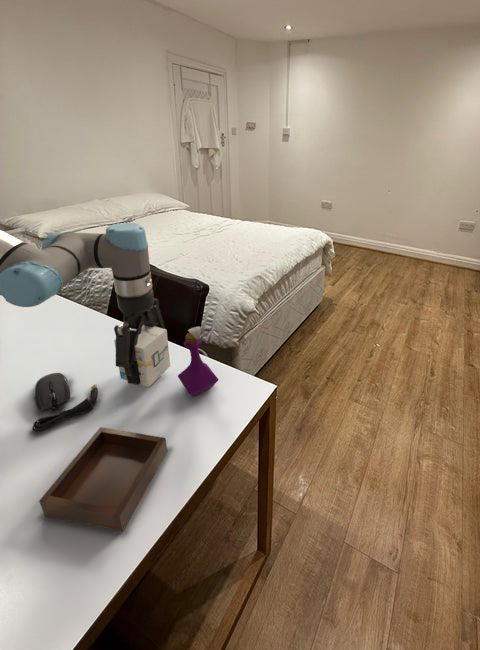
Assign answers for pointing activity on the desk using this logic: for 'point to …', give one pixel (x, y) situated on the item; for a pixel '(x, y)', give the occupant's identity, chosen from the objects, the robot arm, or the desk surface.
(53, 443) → the desk surface
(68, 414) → the computer mouse
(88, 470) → the wooden tray
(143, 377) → the ink box
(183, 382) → the perfume bottle
